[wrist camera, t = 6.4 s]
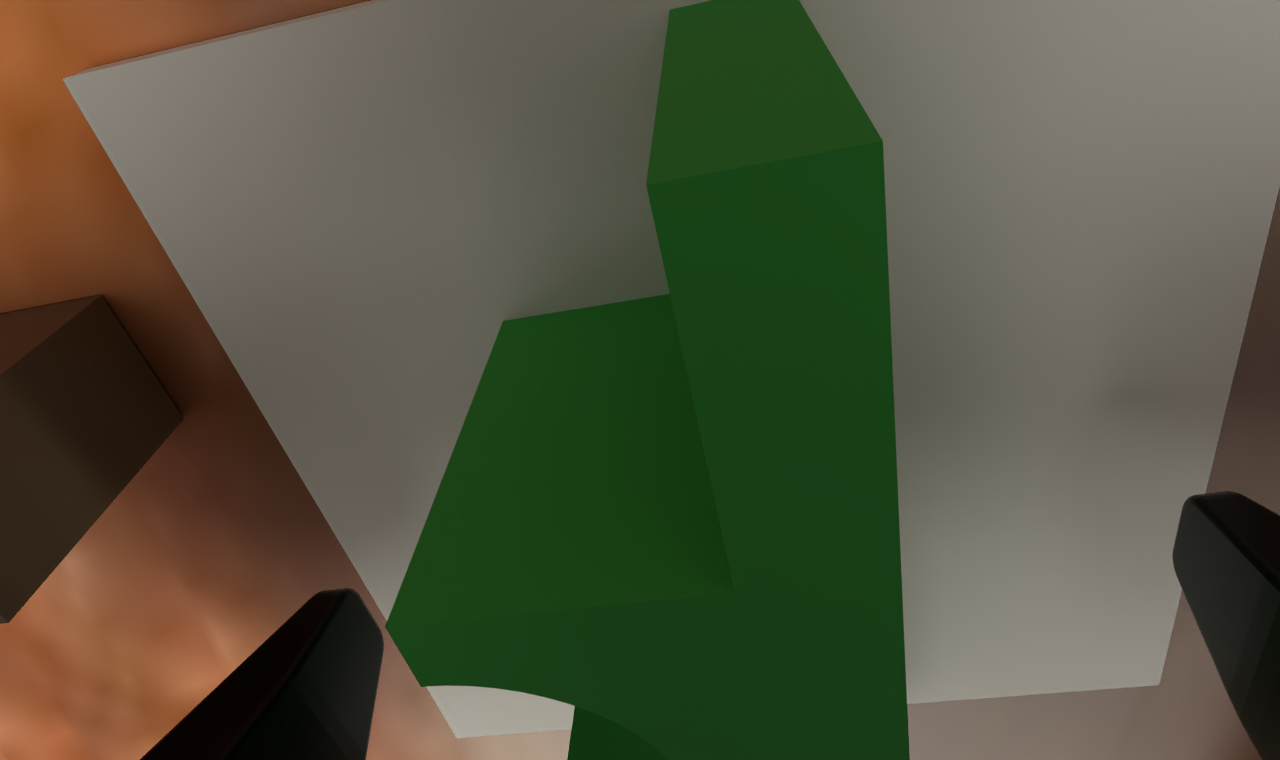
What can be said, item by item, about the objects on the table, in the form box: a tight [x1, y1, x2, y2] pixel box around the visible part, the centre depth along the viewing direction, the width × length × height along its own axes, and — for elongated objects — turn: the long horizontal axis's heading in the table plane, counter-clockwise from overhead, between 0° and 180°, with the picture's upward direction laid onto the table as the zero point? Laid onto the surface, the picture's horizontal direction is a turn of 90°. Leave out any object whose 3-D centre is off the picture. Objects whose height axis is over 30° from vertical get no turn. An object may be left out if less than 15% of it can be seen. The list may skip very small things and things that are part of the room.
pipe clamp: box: [385, 0, 909, 760], centre depth 9 cm, size 11×4×5 cm, turn 12°
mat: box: [62, 0, 1280, 738], centre depth 11 cm, size 12×12×1 cm
